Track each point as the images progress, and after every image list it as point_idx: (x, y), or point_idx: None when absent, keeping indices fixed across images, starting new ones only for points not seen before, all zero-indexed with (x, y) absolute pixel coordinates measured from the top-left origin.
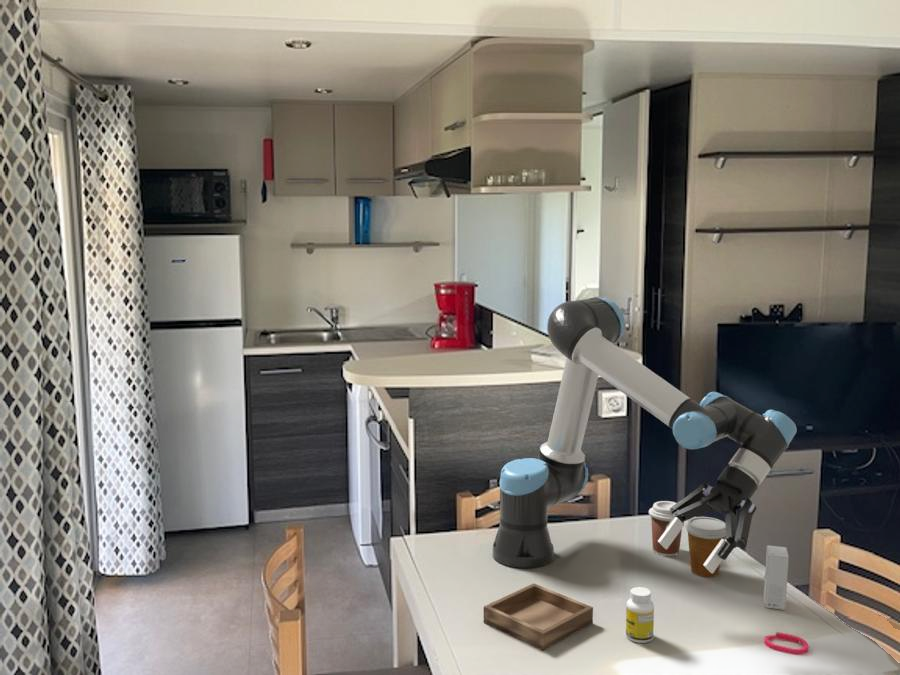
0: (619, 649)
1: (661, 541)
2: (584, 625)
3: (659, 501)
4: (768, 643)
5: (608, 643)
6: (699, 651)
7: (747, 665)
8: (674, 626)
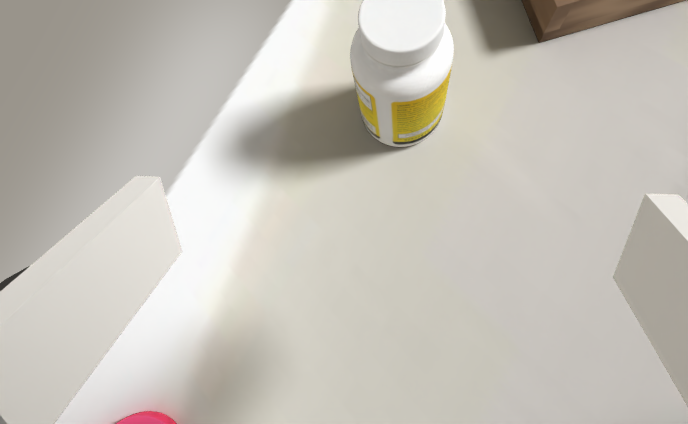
0: None
1: (649, 208)
2: (527, 3)
3: None
4: (149, 414)
5: None
6: (252, 206)
7: None
8: (401, 250)
